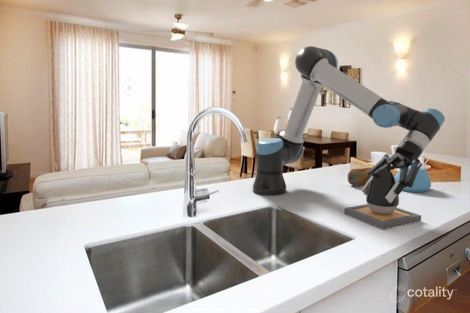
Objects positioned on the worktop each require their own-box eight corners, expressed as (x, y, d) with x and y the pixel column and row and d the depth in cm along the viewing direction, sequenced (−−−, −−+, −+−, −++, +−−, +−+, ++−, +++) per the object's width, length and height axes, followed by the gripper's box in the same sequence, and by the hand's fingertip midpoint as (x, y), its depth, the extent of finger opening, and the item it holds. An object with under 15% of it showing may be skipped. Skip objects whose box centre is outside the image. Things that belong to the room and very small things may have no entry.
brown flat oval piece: (350, 187, 152) (350, 169, 151) (346, 185, 155) (346, 168, 154) (377, 184, 156) (378, 167, 155) (372, 183, 159) (373, 166, 158)
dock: (344, 213, 116) (344, 207, 115) (379, 206, 122) (379, 201, 122) (382, 229, 100) (383, 223, 100) (420, 221, 107) (421, 215, 107)
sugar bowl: (397, 183, 159) (399, 160, 157) (433, 188, 149) (435, 163, 147) (389, 189, 147) (391, 164, 145) (427, 195, 138) (429, 168, 136)
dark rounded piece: (358, 210, 113) (360, 167, 111) (379, 205, 118) (382, 164, 115) (382, 219, 104) (385, 172, 102) (404, 214, 109) (408, 169, 106)
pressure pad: (353, 212, 114) (353, 209, 114) (379, 207, 120) (380, 204, 119) (382, 224, 103) (382, 220, 103) (410, 218, 108) (411, 215, 108)
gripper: (448, 158, 104) (409, 212, 100) (390, 150, 124) (356, 195, 120) (438, 142, 101) (398, 198, 97) (380, 136, 121) (346, 182, 118)
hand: (375, 196), depth 109 cm, fingers closed on dark rounded piece, 9 cm apart
